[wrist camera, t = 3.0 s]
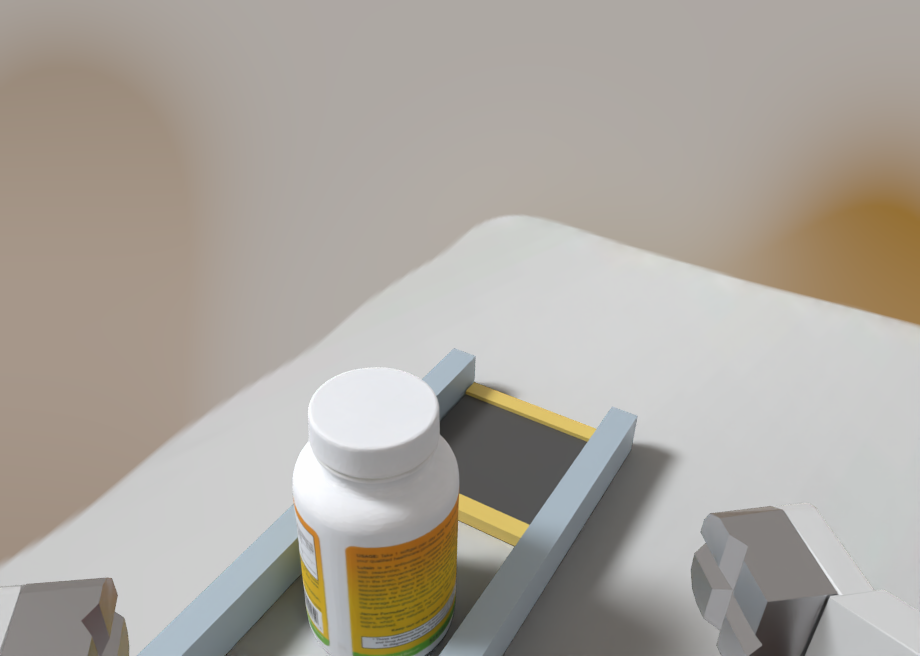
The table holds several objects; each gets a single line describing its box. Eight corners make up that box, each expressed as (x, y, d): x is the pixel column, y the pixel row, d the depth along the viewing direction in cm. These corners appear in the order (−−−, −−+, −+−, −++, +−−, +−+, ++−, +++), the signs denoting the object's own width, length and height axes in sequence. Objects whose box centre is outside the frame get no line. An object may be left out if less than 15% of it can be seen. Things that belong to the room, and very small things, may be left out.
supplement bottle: (479, 584, 32) (493, 383, 27) (409, 700, 28) (407, 492, 23) (359, 533, 34) (348, 334, 29) (277, 635, 30) (246, 427, 25)
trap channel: (453, 380, 43) (454, 348, 42) (631, 449, 39) (637, 415, 38) (38, 803, 25) (21, 767, 24) (286, 1000, 22) (279, 969, 21)
